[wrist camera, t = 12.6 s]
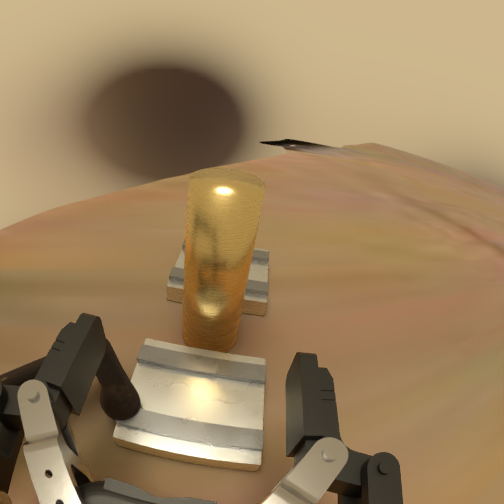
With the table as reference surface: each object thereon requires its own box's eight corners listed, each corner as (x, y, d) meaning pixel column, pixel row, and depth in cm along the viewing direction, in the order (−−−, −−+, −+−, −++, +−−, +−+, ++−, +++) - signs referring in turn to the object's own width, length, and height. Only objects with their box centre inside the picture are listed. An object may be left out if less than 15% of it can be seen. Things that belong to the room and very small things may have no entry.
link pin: (177, 350, 21) (180, 189, 14) (188, 311, 24) (198, 164, 18) (233, 360, 21) (264, 202, 14) (238, 320, 24) (266, 174, 18)
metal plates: (117, 445, 14) (111, 434, 13) (186, 250, 31) (187, 233, 30) (256, 471, 14) (262, 462, 13) (265, 262, 31) (269, 246, 30)
